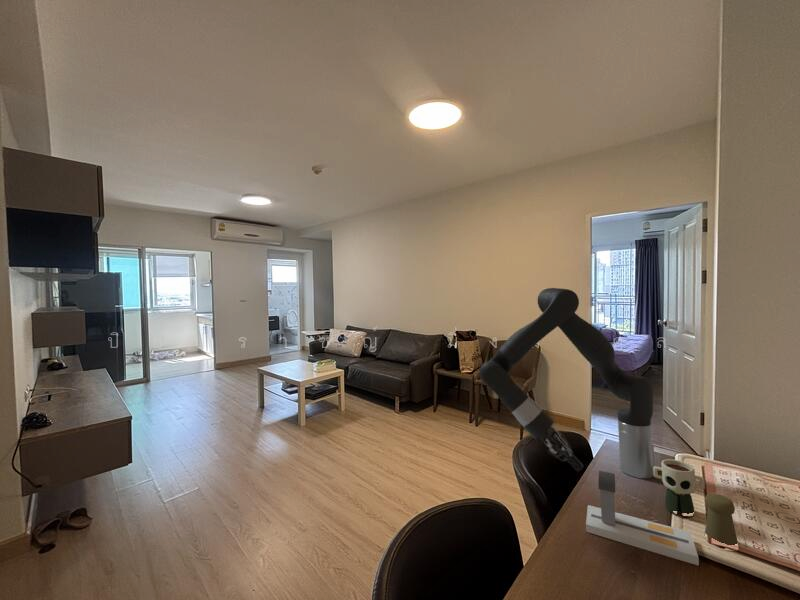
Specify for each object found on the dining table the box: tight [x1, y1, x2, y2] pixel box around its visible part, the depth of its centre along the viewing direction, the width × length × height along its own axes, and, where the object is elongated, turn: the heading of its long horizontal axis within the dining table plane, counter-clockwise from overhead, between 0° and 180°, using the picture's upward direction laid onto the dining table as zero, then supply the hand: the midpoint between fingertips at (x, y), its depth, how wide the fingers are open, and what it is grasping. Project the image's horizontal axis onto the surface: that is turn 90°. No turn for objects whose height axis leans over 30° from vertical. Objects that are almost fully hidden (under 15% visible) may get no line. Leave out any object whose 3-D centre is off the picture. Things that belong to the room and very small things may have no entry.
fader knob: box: [598, 470, 616, 526], centre depth 86 cm, size 4×6×11 cm, turn 147°
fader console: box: [585, 504, 700, 567], centre depth 83 cm, size 22×9×2 cm, turn 57°
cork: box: [704, 493, 739, 545], centre depth 80 cm, size 6×6×11 cm
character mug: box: [653, 458, 706, 514], centre depth 91 cm, size 11×7×13 cm, turn 49°
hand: (580, 468), depth 89 cm, fingers closed
